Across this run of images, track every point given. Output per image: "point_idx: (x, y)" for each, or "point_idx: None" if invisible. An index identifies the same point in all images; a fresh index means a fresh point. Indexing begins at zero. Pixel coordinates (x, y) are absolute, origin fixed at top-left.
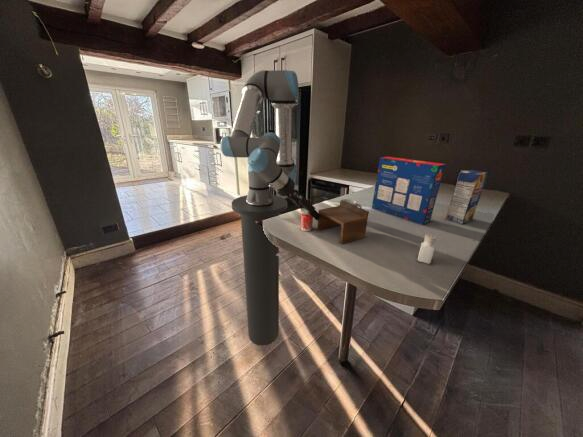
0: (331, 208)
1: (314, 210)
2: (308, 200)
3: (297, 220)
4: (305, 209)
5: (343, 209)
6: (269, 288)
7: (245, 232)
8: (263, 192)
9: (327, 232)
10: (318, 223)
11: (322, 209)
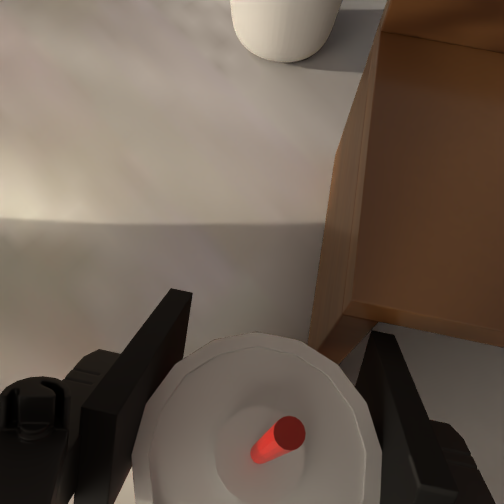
0: (403, 144)
1: (493, 501)
2: (296, 440)
3: (27, 373)
4: (231, 481)
5: (495, 84)
6: None
7: None
8: None
9: (414, 358)
10: (330, 358)
11: (371, 248)
